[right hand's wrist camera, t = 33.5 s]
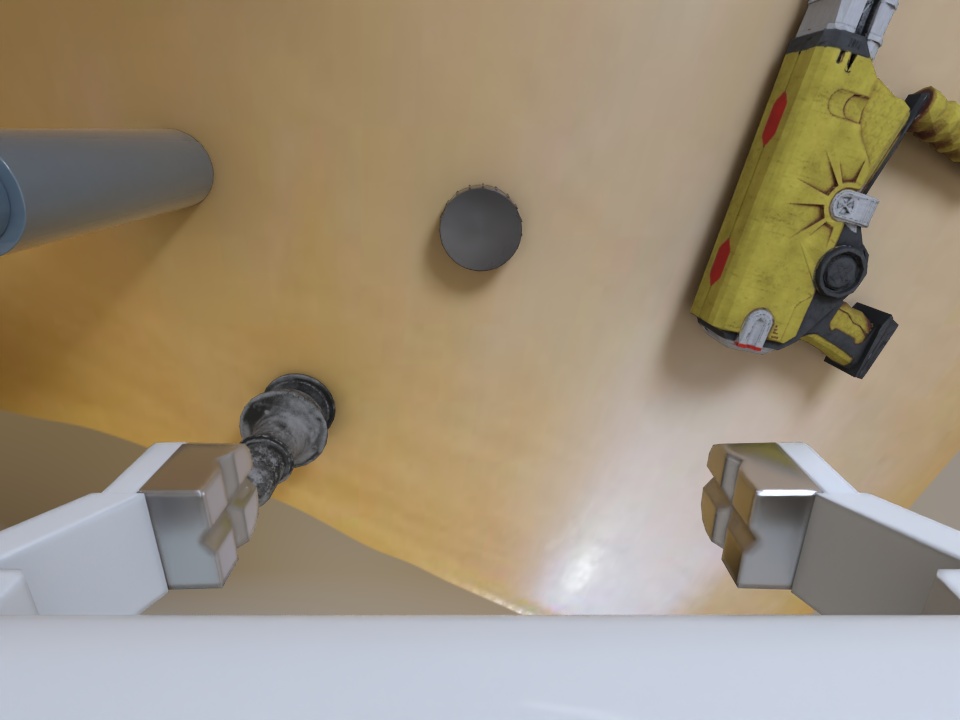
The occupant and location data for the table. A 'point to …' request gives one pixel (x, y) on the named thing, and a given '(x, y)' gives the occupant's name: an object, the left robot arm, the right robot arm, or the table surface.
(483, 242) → the lid
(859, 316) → the toy gun
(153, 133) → the grey cylindrical piece
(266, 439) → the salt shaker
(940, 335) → the table surface
